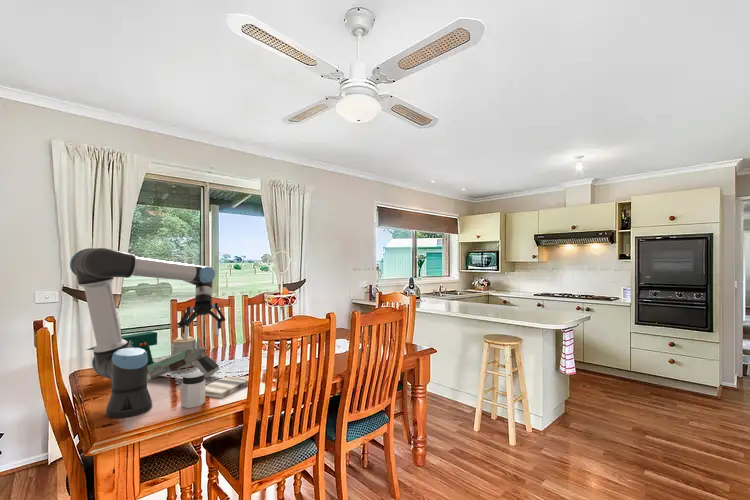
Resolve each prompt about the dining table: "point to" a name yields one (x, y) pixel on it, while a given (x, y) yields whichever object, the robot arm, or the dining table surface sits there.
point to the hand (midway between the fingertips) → (201, 337)
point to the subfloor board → (225, 386)
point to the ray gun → (185, 362)
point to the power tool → (141, 343)
